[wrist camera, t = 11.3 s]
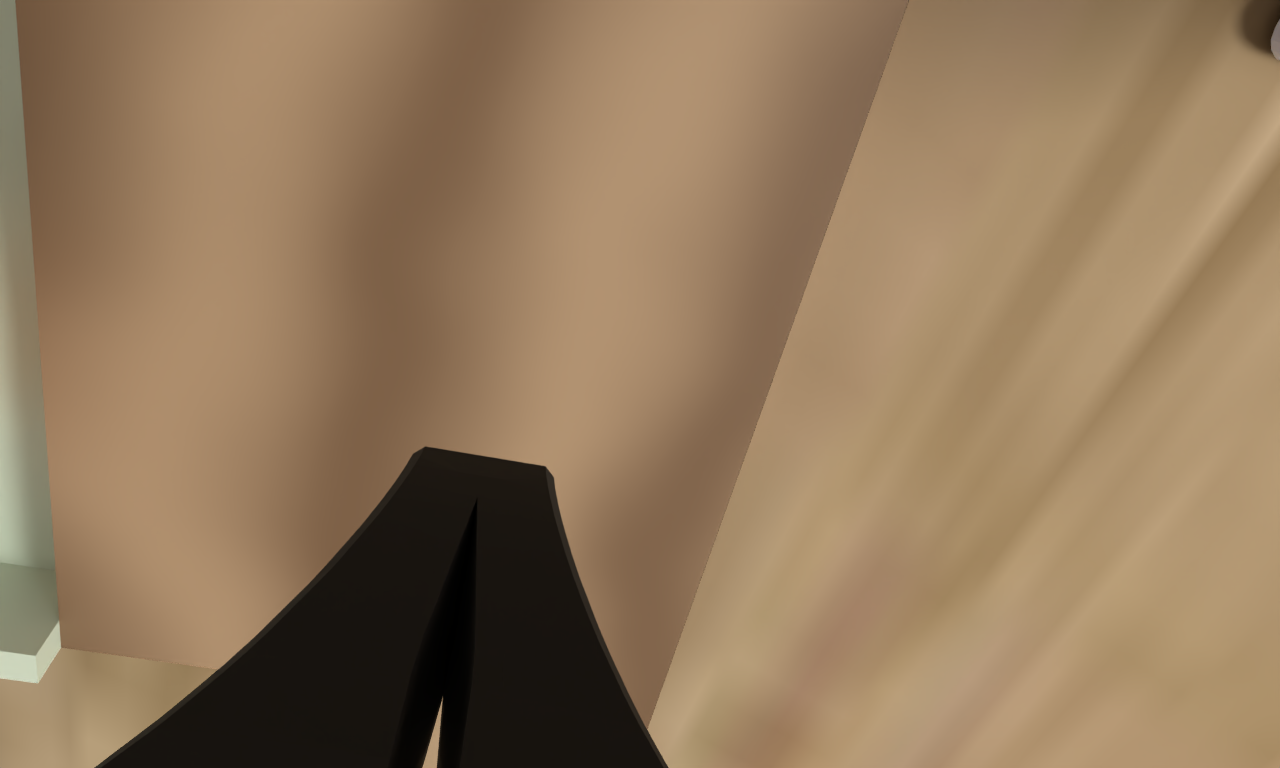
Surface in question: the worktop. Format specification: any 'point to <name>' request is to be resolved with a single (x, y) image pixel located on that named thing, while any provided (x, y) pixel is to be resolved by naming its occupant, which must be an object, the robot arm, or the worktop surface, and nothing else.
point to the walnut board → (415, 280)
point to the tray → (21, 406)
